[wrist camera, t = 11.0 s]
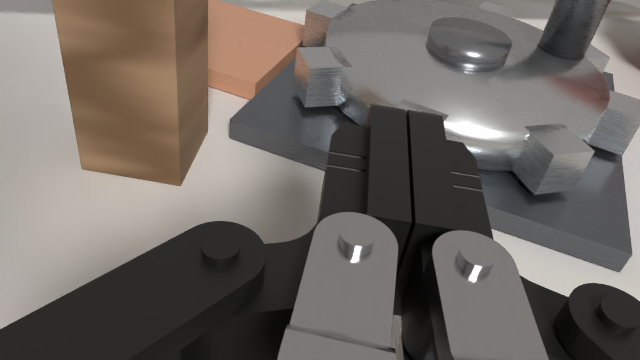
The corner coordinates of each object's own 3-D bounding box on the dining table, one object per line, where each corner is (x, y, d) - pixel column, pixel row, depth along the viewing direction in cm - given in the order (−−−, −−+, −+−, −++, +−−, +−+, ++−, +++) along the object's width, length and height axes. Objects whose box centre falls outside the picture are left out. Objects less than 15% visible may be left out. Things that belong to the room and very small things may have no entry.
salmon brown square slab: (119, 57, 29) (117, 39, 29) (198, 10, 35) (198, -5, 35) (254, 101, 27) (255, 83, 27) (313, 43, 34) (315, 28, 33)
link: (80, 169, 22) (30, -109, 16) (120, 116, 25) (92, -132, 19) (181, 187, 22) (171, -85, 16) (208, 131, 25) (210, -112, 19)
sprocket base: (229, 137, 25) (230, 119, 24) (349, 17, 38) (352, 3, 37) (619, 272, 21) (632, 254, 21) (605, 88, 34) (612, 74, 33)
